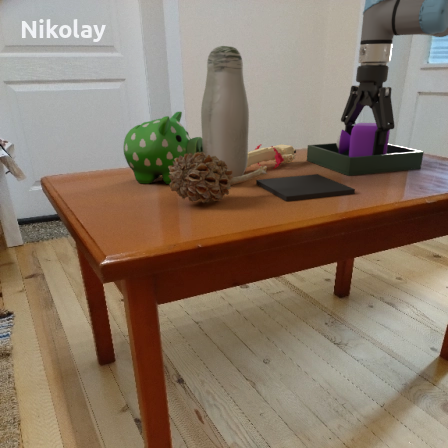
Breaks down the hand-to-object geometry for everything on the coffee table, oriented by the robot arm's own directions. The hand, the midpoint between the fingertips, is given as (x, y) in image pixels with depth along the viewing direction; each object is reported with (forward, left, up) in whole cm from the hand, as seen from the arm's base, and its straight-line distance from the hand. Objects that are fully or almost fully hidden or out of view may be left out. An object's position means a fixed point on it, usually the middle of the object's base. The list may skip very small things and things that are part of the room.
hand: (361, 154), depth 118 cm
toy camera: (0, 0, -2) cm, 2 cm away
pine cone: (-20, +47, -3) cm, 51 cm away
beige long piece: (+6, +27, -3) cm, 28 cm away
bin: (0, 0, -3) cm, 3 cm away
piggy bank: (+2, +54, -3) cm, 54 cm away
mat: (-18, +27, -3) cm, 32 cm away
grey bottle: (-6, +41, -3) cm, 41 cm away
